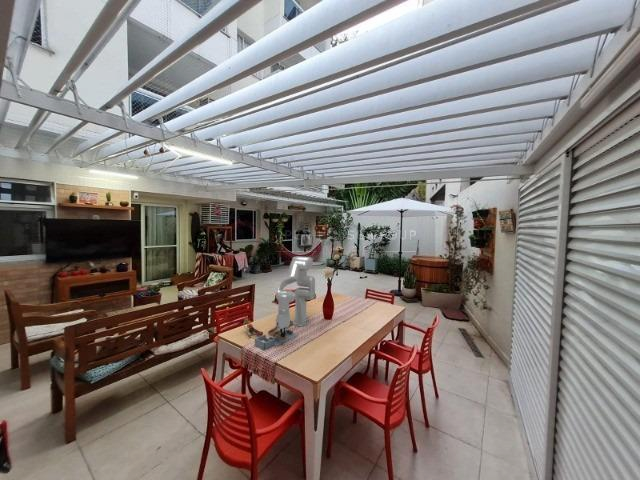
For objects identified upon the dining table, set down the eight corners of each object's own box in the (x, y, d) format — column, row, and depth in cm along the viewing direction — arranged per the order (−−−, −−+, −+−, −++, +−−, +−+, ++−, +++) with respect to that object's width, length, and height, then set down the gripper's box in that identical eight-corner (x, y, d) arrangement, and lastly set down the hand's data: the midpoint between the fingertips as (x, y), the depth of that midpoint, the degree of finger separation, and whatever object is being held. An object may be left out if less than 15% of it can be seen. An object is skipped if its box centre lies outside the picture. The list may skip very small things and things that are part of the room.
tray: (264, 340, 185) (265, 334, 184) (274, 345, 178) (274, 338, 178) (254, 345, 178) (254, 338, 177) (264, 350, 171) (264, 343, 171)
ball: (263, 339, 179) (259, 340, 176) (266, 340, 177) (262, 341, 174) (262, 344, 179) (258, 345, 176) (266, 346, 177) (262, 347, 174)
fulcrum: (286, 331, 201) (286, 321, 201) (297, 336, 194) (297, 325, 193) (265, 340, 185) (265, 329, 184) (276, 346, 177) (276, 334, 177)
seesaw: (287, 322, 199) (287, 319, 199) (301, 328, 190) (301, 324, 189) (268, 334, 184) (267, 330, 184) (282, 341, 175) (282, 337, 174)
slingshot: (260, 328, 206) (267, 329, 194) (252, 340, 201) (259, 341, 188) (244, 317, 201) (250, 317, 189) (236, 328, 196) (241, 329, 184)
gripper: (287, 307, 185) (286, 332, 186) (271, 312, 173) (271, 338, 174) (294, 310, 180) (294, 335, 181) (279, 315, 168) (278, 342, 169)
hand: (282, 336), depth 177 cm, fingers closed
